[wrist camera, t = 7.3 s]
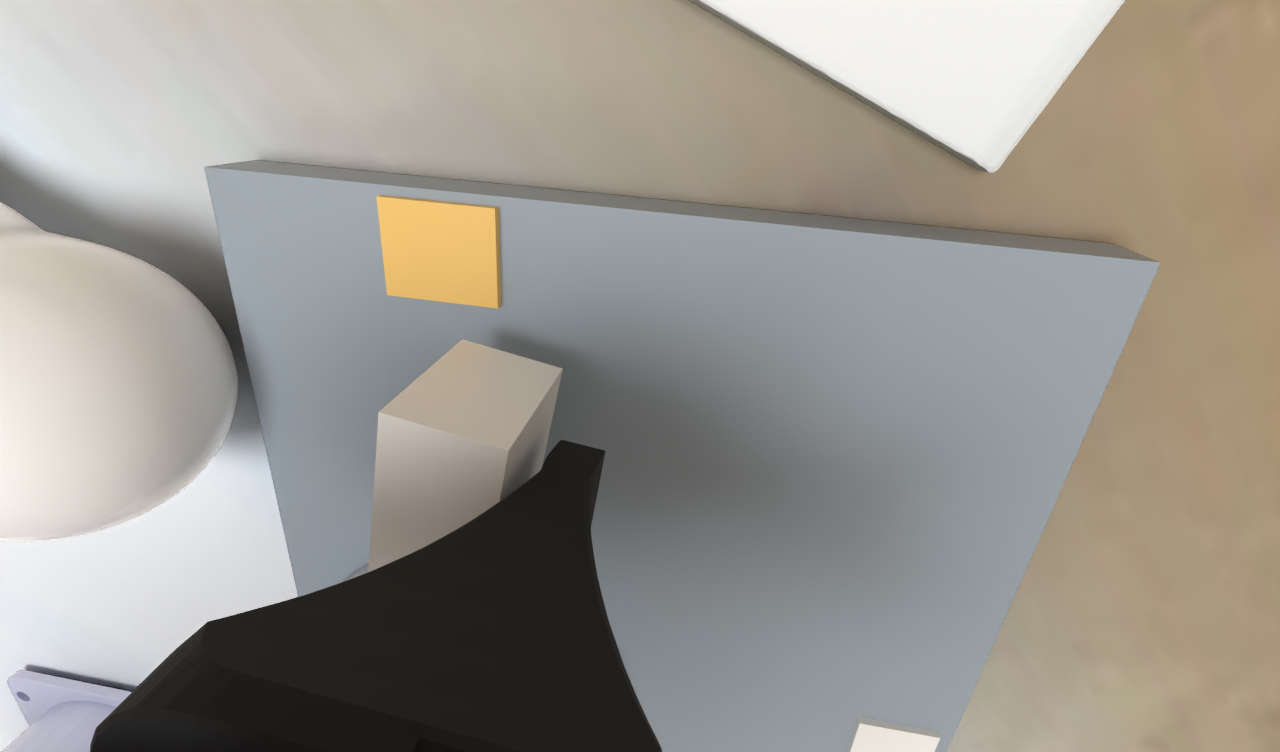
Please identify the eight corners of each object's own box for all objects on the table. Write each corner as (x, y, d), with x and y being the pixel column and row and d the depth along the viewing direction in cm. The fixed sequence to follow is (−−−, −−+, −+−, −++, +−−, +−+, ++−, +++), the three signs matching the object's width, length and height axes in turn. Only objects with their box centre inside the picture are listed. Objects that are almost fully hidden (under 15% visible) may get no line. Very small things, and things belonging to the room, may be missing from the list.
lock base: (880, 826, 20) (898, 919, 18) (360, 722, 22) (316, 794, 20) (1113, 243, 12) (1199, 277, 10) (256, 159, 14) (162, 172, 12)
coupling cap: (553, 828, 18) (519, 958, 15) (326, 755, 18) (253, 871, 15) (689, 405, 12) (673, 500, 9) (338, 302, 12) (218, 364, 9)
